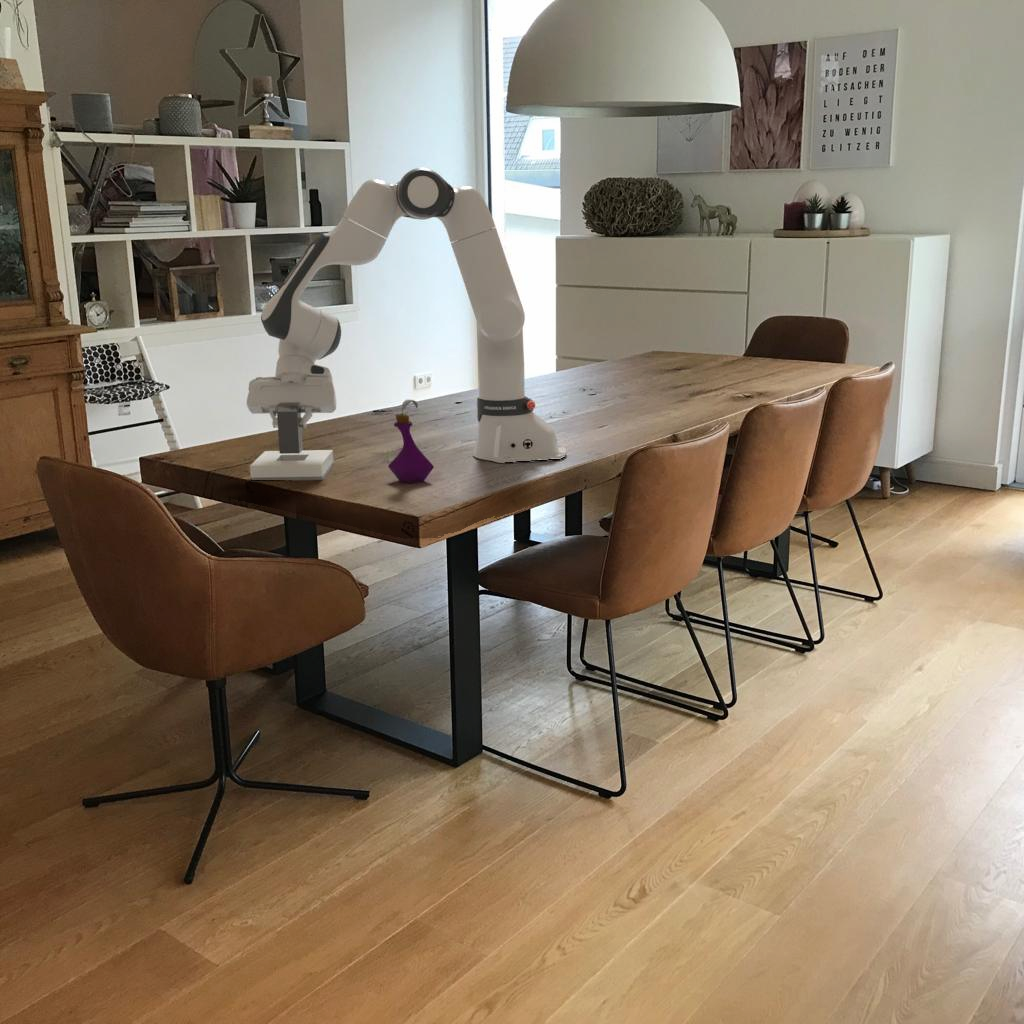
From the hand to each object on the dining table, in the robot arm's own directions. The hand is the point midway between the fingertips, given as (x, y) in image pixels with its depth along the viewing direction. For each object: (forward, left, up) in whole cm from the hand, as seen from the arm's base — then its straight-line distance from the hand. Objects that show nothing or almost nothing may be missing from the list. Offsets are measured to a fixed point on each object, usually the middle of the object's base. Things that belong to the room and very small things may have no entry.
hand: (289, 426), depth 259 cm
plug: (0, -1, -6) cm, 6 cm away
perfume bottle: (-28, +9, -11) cm, 32 cm away
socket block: (0, -1, -11) cm, 11 cm away
